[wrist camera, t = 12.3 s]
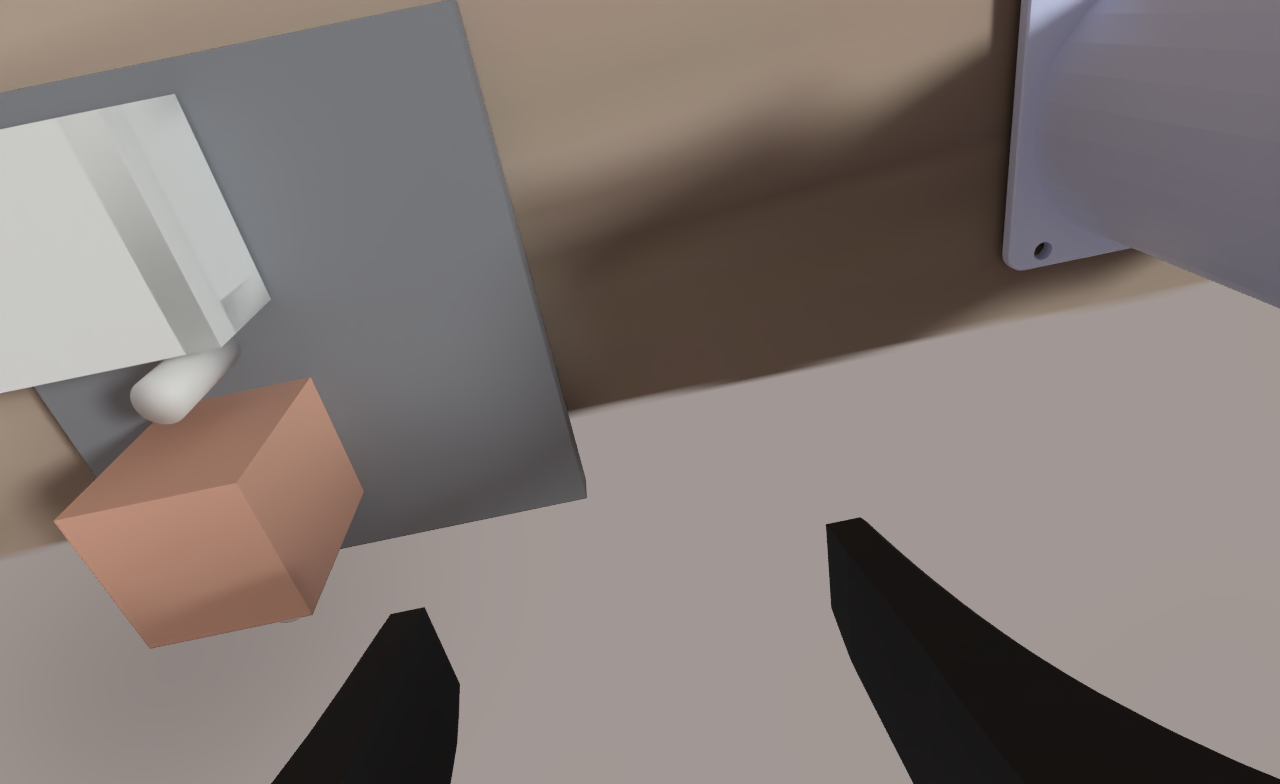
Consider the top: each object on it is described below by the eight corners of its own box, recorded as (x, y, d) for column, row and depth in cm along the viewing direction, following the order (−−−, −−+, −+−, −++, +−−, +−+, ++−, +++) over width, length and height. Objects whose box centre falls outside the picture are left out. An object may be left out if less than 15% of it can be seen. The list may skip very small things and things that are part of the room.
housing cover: (174, 93, 16) (96, 109, 13) (270, 299, 18) (221, 347, 15) (-87, 148, 16) (-218, 174, 13) (43, 346, 18) (-45, 402, 15)
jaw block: (310, 376, 19) (236, 482, 15) (364, 491, 21) (312, 614, 17) (169, 406, 19) (53, 521, 15) (235, 518, 21) (149, 648, 17)
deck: (456, 0, 16) (427, -4, 13) (585, 480, 23) (589, 562, 20) (-110, 117, 16) (-294, 146, 13) (185, 562, 23) (116, 660, 20)
